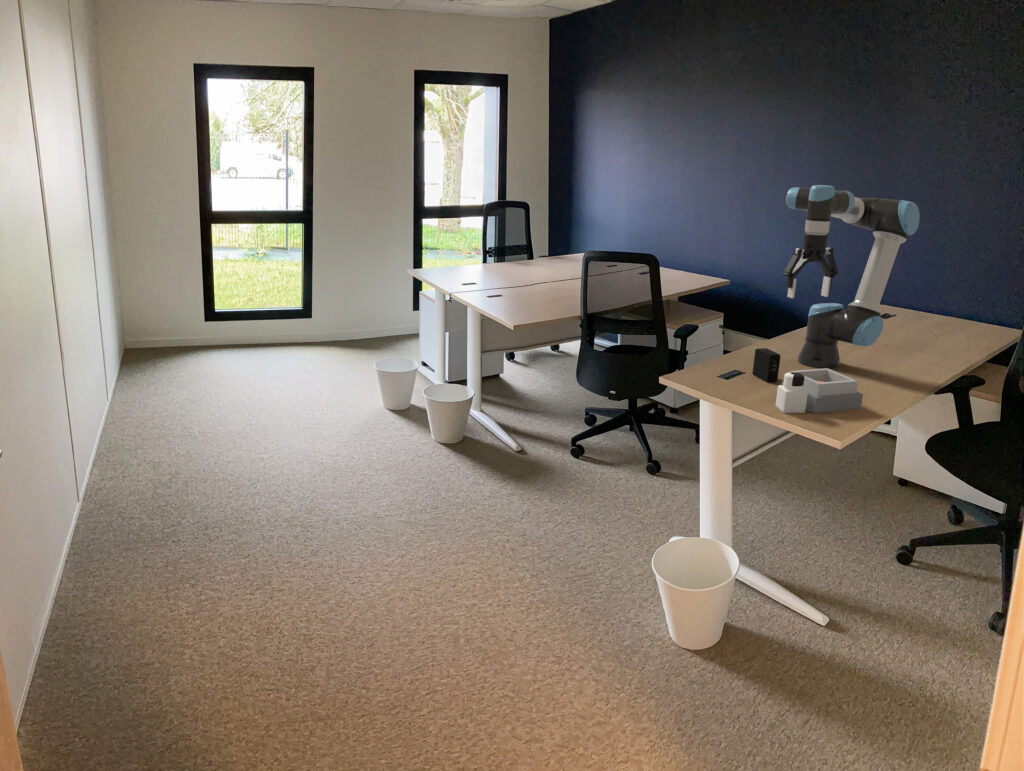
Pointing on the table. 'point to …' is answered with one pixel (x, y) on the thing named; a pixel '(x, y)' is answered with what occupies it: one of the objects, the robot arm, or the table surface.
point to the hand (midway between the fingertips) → (807, 296)
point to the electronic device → (766, 365)
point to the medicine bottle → (792, 394)
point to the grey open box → (830, 391)
